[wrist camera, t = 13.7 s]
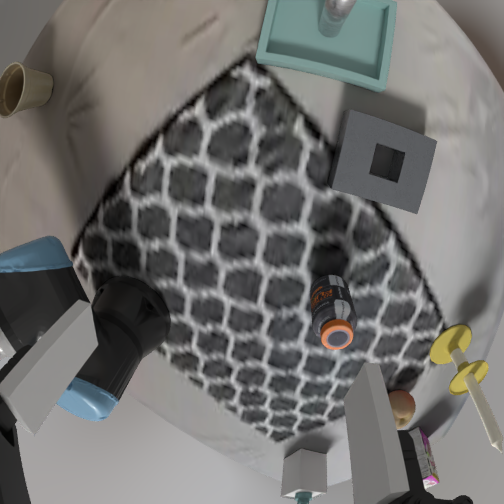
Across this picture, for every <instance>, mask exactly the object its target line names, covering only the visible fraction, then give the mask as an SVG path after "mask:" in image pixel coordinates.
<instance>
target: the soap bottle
mask: <svg viewBox="0 0 504 504" xmlns="http://www.w3.org/2000/svg"><path fill="white" fill-rule="evenodd" d="M326 493H327V456H326V454H323V453H318V452H314V451H310V450H306V449H302V448H301V449H299V450H298V451H296V452H295V453H293V454H291V455H290V456H288V457H287V458H285V459H284V464H283V476H282V489H281V497H284V498H290V499H295V500H296V501H298V503H297V504H309V501H310V500H312V499H314V498H316V497H319V496H321V495H324V494H326Z"/></svg>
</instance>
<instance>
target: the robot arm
mask: <svg viewBox="0 0 504 504" xmlns="http://www.w3.org/2000/svg"><path fill="white" fill-rule="evenodd" d="M72 265H73V262H72V261H70V260H69V258H68V256H67V253H66V251H65V249H64V247H63V245H62V243H61V241H60V240H59V239H58V238H56V237H54V236H45V237H42V238H39V239H36V240H33V241H31V242H28V243H25V244H23V245H20V246H17V247H15V248H12V249H10V250H7V251H5V252H3V253H1V254H0V360H2V359H3V358H4V357H11V359H10V360H9V361H8V363H7V364H5V365H4V367H3V368H2V369H1V370H0V504H31V501H30V498H29V494H28V490H27V486H26V482H25V477H24V473H23V468H22V462H21V457H20V452H19V445H18V437H17V429H16V426H15V423H16V421H18V422H19V424H20V425H21V426H22V428H24V429H25V430H27V431H28V432H30V433H31V434H33V435H35V434H36V433H37V431H38V430H39V428H40V427H41V425H42V424H43V422H44V421H45V419H46V417H47V416H48V415H49V413H50V411H51V410H52V408H53V407H54V406H55V404H57V405H59V406H60V407H62V408H63V409H65V410H67V411H68V412H70V413H72V414H74V415H76V416H78V417H81V418H83V419H87V420H91V421H101V420H104V419H106V418H107V417H108V416H109V415H110V413H111V411H112V410H113V408H114V407H115V406H116V405H117V404H118V402H119V400H120V398H121V396H122V394H123V392H124V390H125V389H126V387H127V385H128V383H129V381H130V379H131V378H132V376H133V374H134V372H135V370H136V369H137V367H138V365H139V363H140V361H141V360H142V359H143V358H144V357H145V356H147V355H148V354H150V353H151V352H152V351H154V350H155V349H156V348H158V347H159V346H160V345H161V344H162V343H163V342H164V340H165V338H166V337H167V335H168V333H169V330H170V316H169V312H168V310H167V308H166V306H165V304H164V302H163V301H162V299H161V298H160V297H159V296H158V294H157V293H156V292H155V291H154V290H152V289H151V288H150V287H149V286H147V285H146V284H144V283H143V282H141V281H139V280H136V279H134V278H130V277H125V276H118V277H113V278H111V279H109V280H107V281H106V282H105V283H104V284H103V285H102V286H101V287H100V288H99V289H98V291H97V292H96V294H95V297H94V299H93V302H92V305H91V303H90V301H89V299H88V297H87V295H86V293H85V291H84V289H83V287H82V285H81V283H80V281H79V279H78V277H77V275H76V273H75V270H74V268H73V266H72ZM343 401H344V408H345V416H346V423H347V432H348V440H349V450H350V460H351V470H352V482H353V496H354V504H473V501H472V500H471V499H470V498H469V497H468V496H466V495H461V496H459V497H457V498H455V499H453V500H443V499H436V498H434V496H433V495H432V494H430V493H429V492H426V490H425V487H424V483H423V479H422V474H421V470H420V465H419V461H418V459H417V458H418V457H417V453H416V451H415V450H416V449H415V445H414V441H413V438H412V437H411V435H410V434H409V433H408V431H407V430H397V428H396V424H395V420H394V416H393V412H392V409H391V405H390V401H389V397H388V394H387V390H386V387H385V383H384V380H383V376H382V373H381V370H380V366H379V364H373V363H364V364H363V366H362V368H361V370H360V372H359V373H358V375H357V377H356V379H355V380H354V382H353V384H352V386H351V387H350V389H349V391H348V392H347V394H346V396H345V397H344V399H343Z"/></svg>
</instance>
